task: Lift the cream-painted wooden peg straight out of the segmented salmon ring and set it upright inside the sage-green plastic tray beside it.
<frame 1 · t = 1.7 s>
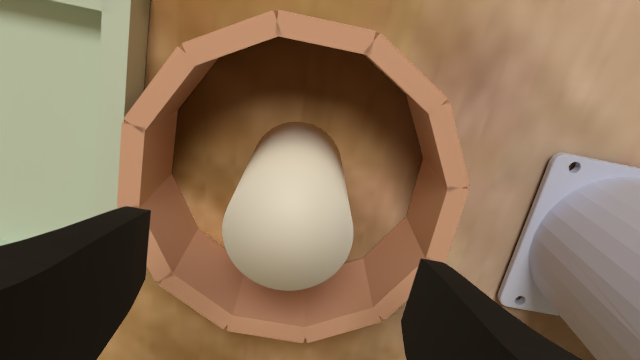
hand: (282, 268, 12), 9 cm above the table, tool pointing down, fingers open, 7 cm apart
segmented salmon ring: (297, 165, 20), on the table
peg: (293, 193, 17), in the segmented salmon ring
tray: (0, 120, 20), on the table
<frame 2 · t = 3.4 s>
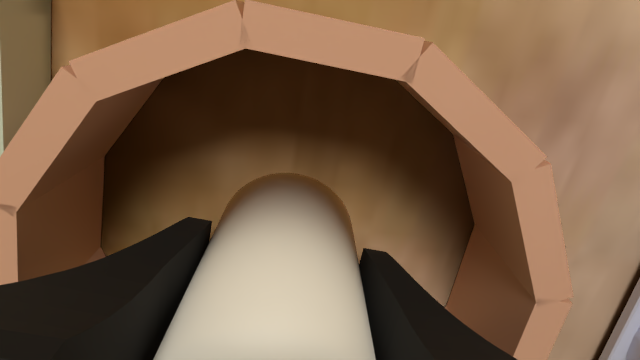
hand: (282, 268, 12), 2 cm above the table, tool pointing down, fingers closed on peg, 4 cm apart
segmented salmon ring: (286, 235, 14), on the table
peg: (277, 303, 10), in the segmented salmon ring, touching gripper
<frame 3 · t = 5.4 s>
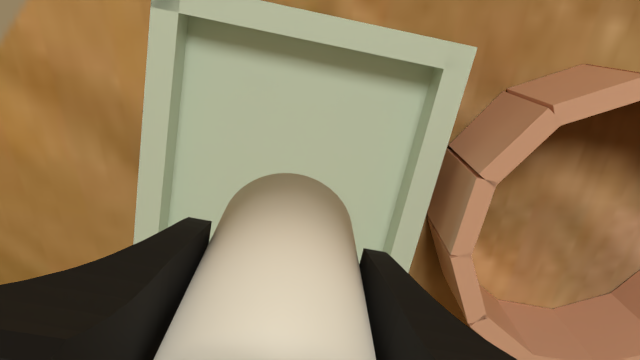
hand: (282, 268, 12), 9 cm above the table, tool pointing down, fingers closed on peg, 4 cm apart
segmented salmon ring: (565, 206, 21), on the table
peg: (277, 303, 10), point 11 cm above the table, touching gripper
tray: (290, 164, 20), on the table
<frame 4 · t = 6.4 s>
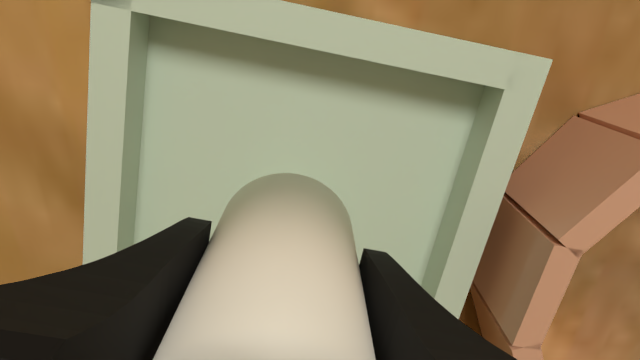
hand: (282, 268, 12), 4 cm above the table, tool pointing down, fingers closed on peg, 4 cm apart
peg: (277, 303, 10), point 6 cm above the table, touching gripper
tray: (290, 210, 15), on the table
when the fingers open (4 cm above the table, at t = 7.3 s): peg drops 1 cm, resting on tray.
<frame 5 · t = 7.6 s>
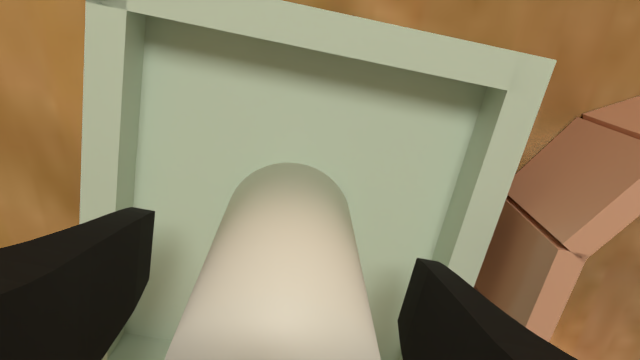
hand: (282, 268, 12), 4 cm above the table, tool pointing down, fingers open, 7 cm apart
peg: (283, 281, 11), in the tray, point 4 cm above the table
tray: (289, 213, 15), on the table
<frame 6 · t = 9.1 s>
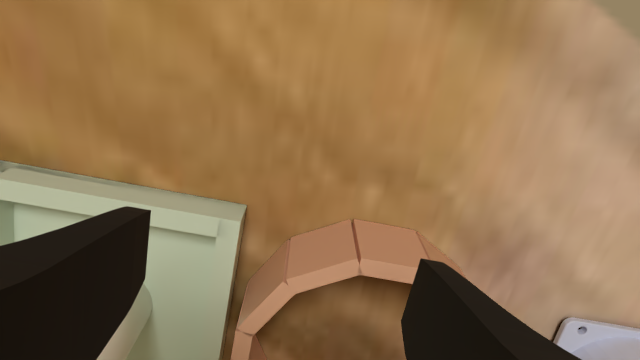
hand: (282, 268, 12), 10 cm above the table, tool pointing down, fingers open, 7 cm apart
segmented salmon ring: (356, 325, 25), on the table
peg: (80, 346, 20), in the tray, point 4 cm above the table
tray: (118, 294, 24), on the table
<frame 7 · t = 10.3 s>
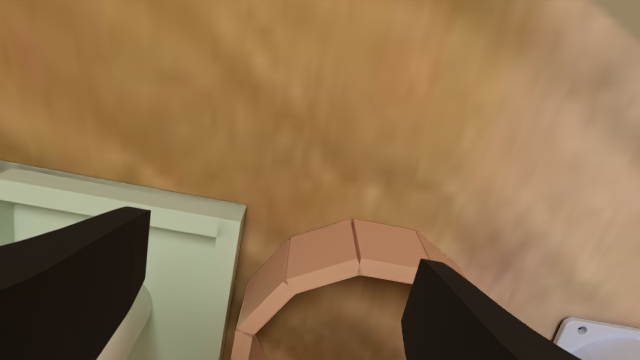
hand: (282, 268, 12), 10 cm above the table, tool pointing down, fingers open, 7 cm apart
segmented salmon ring: (356, 325, 25), on the table
peg: (80, 347, 20), in the tray, point 4 cm above the table
tray: (118, 294, 24), on the table
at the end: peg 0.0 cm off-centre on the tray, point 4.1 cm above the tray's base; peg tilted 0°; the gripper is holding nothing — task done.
